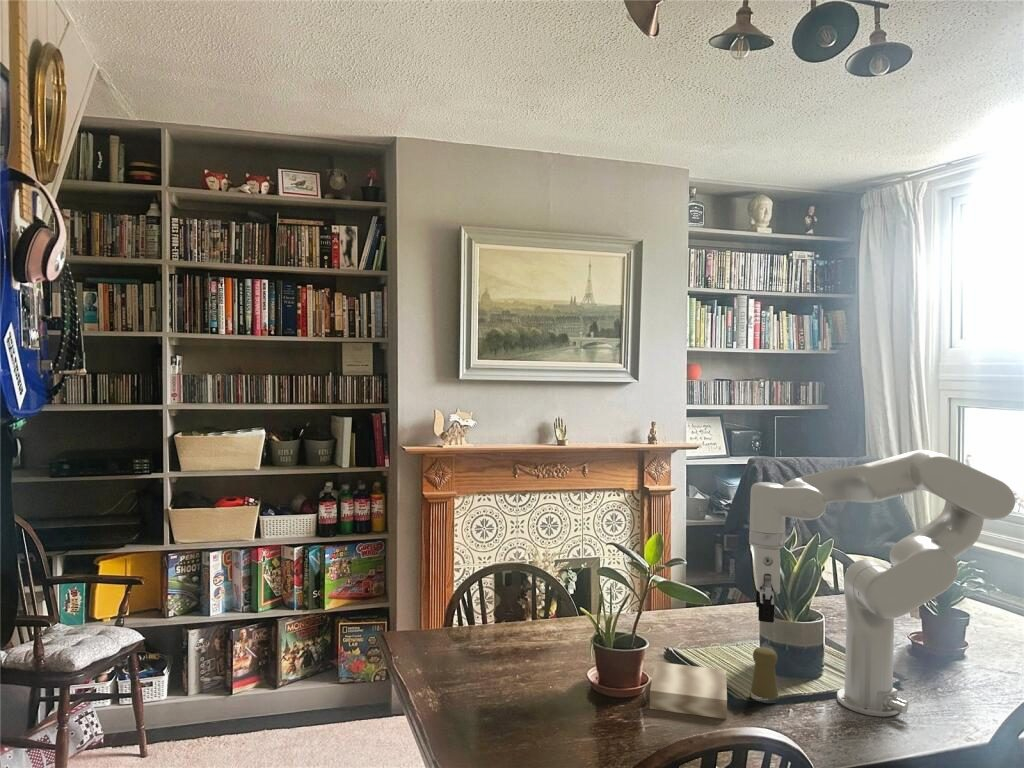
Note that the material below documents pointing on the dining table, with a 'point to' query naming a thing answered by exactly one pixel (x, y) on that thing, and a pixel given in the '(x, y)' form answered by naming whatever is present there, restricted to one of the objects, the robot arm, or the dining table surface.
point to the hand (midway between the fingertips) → (764, 614)
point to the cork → (764, 673)
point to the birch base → (689, 690)
